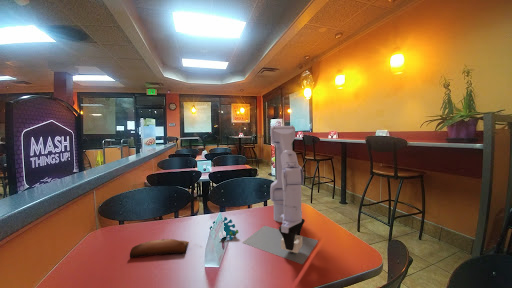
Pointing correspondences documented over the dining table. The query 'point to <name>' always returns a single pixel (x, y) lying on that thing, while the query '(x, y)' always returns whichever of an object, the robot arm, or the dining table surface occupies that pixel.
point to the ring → (296, 244)
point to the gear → (228, 228)
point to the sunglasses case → (159, 247)
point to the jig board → (279, 244)
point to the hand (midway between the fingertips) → (292, 244)
